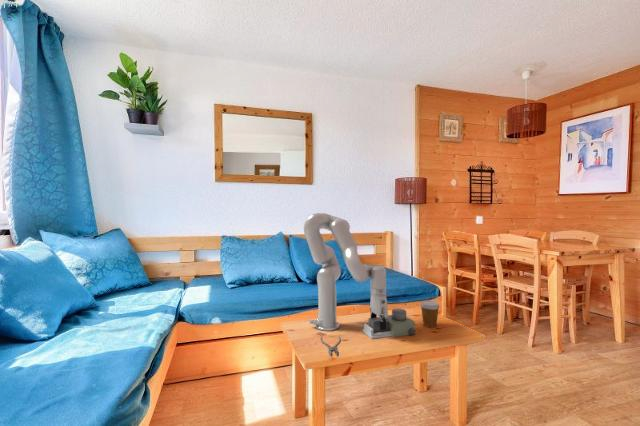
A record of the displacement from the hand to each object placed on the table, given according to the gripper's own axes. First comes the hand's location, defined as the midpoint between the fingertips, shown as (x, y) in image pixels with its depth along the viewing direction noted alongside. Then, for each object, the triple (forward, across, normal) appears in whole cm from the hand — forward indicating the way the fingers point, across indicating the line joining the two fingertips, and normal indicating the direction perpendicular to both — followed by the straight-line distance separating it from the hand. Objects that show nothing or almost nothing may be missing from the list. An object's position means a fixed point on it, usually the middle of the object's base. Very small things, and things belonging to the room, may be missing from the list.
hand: (378, 325), depth 148 cm
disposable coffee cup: (+4, +1, -31) cm, 31 cm away
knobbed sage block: (+4, 0, -5) cm, 7 cm away
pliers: (+4, -6, +25) cm, 26 cm away
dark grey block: (+3, 0, 0) cm, 3 cm away
